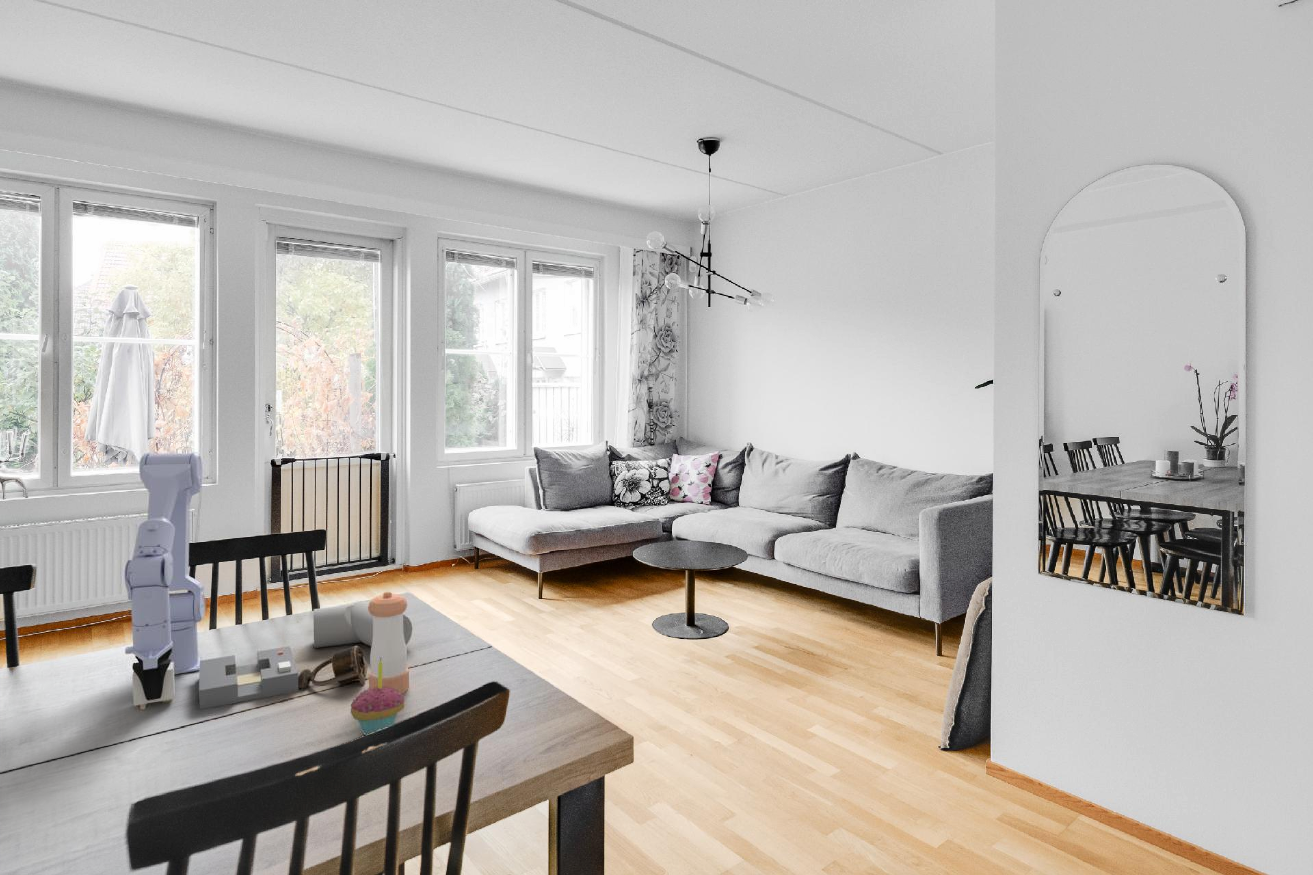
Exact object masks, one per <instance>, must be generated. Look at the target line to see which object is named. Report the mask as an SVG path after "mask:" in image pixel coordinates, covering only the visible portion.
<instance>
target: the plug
mask: <svg viewBox="0 0 1313 875" xmlns="http://www.w3.org/2000/svg"><path fill="white" fill-rule="evenodd" d="M131 677H132V697H133V706H140V710H145V709H146V707H147V704H152V703H156V702H161V703H169V702H173V700H174V699H175V689H176V686H175V684H176V683H175V674H174V662H171V663H170V665H169V667H168V669H167V671H166V674H165V677H164V683H163V690H162V695H161V698H160V699H154V700H148V701H147V699H146V697H145V694H144V691H143V687H142V684H141V681H140V679H139V678H138V676H137V675H136V673H135V672H134V671H133V672H132V676H131Z"/></svg>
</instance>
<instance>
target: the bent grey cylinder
mask: <svg viewBox="0 0 1313 875" xmlns="http://www.w3.org/2000/svg"><path fill="white" fill-rule="evenodd" d="M369 603H370V602H369ZM369 603H368V602H365V601H362V600H358V601H357V600H356V602H353V605H352V604H351V605H342V606H341V605H340V606H331V607H322V608H313V646H314V649H318V648H325V647H326V648H327V647H333V646H342V645H349V644H358V643H364V645H366V646H370V647H372V640H373V615H371V614H370V613H369V610H368V606H369ZM403 634H404V639H405V645H406V646H407V645H408V644H409V641H410V640H411V638H412V634H413V624H412V622H411V620H410V618H409V617H408V616H407V615H404V614H403Z"/></svg>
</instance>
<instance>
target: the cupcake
mask: <svg viewBox="0 0 1313 875" xmlns="http://www.w3.org/2000/svg"><path fill="white" fill-rule="evenodd" d="M381 658H382V657H380V662H379V666H378V687H375V688H372V689H369V688H367V689H364V690H363V691H362V692H361V691H360V693H359V694H358V695H356V696H355V698H354V699H352V702H351V704H350V707H351V709H350V714H351V716H352V718H353V719H354V720H357V722H358V724H359V725H360V728H361V732H362V734H364V733H365V734H364V735H365V736H367V734H370V733H372V732H376V731H377V730H379V729H383V728H385V727H388V726H390V725H393V726H394V724H395V721H396V719H397V716H398V713H399V712H401V711H403V709H404V708H405V700H404V696H403V693H399V691H397V689H394V688H390V687H384V686H382V668H383V662H381Z"/></svg>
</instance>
